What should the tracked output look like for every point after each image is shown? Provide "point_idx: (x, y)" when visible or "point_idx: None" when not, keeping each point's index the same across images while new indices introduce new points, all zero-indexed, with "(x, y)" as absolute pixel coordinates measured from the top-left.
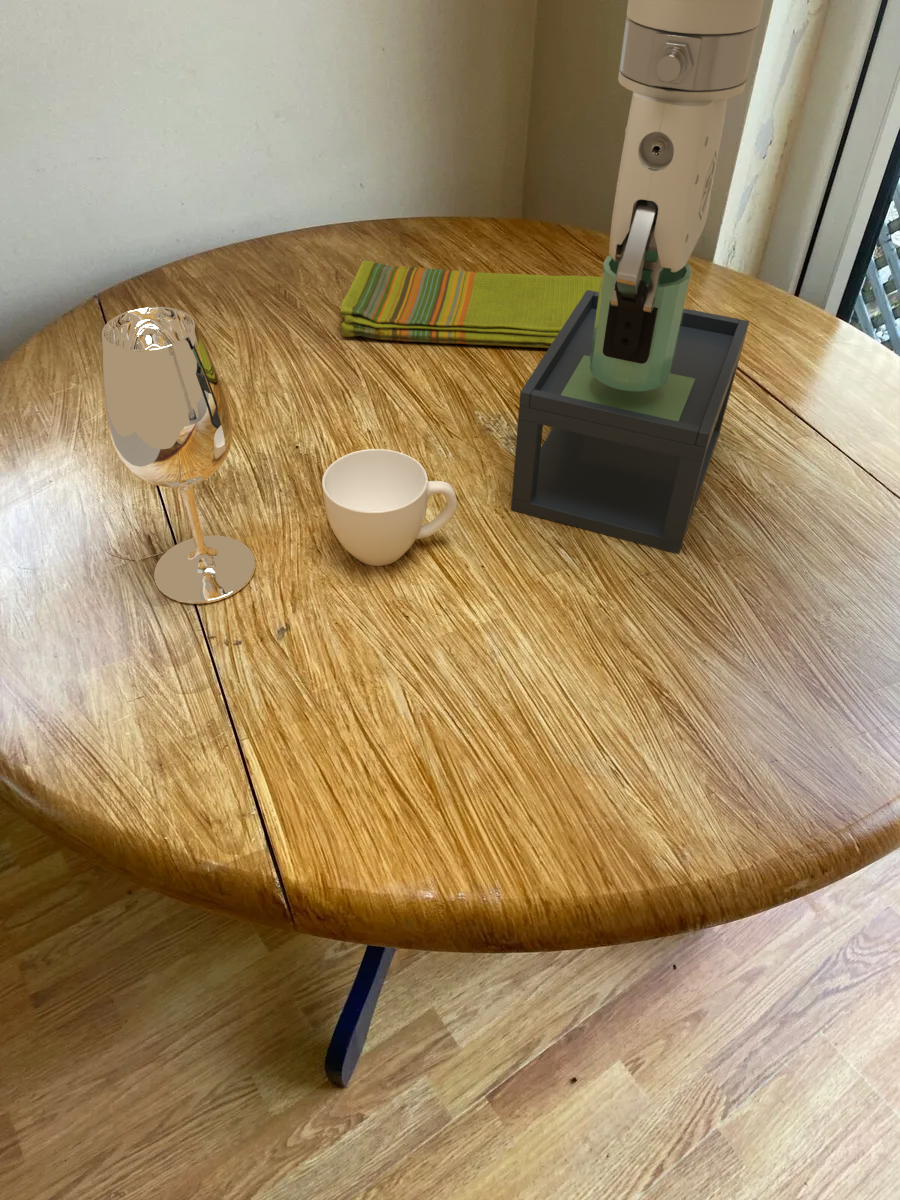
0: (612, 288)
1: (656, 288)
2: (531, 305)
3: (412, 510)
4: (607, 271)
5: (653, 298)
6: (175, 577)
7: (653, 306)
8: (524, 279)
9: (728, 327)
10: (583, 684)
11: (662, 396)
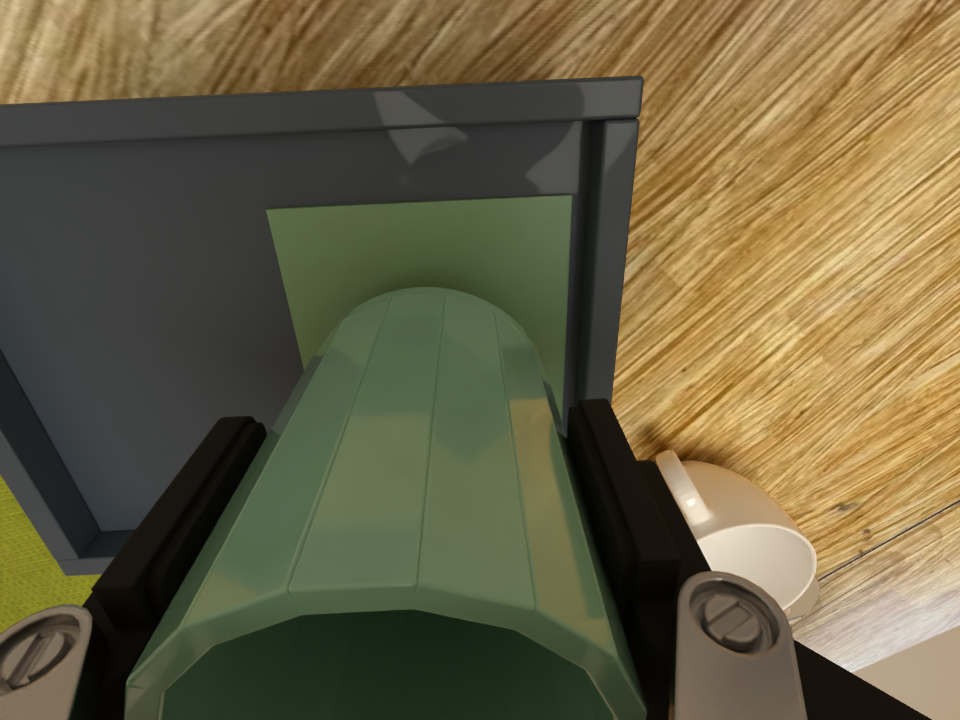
0: None
1: (756, 708)
2: (6, 549)
3: (774, 515)
4: None
5: (779, 658)
6: (791, 614)
7: (690, 592)
8: None
9: None
10: (912, 152)
11: (418, 273)
